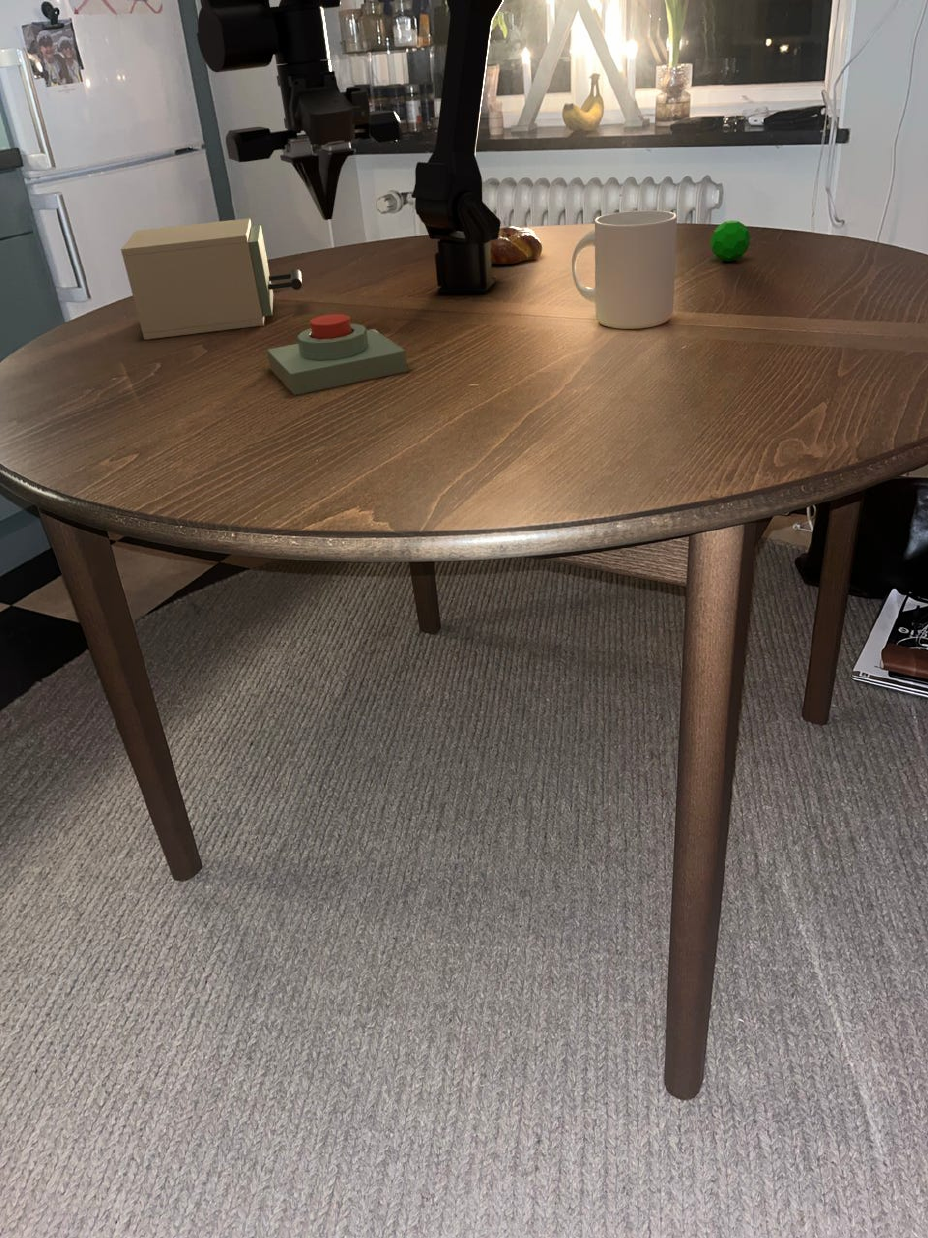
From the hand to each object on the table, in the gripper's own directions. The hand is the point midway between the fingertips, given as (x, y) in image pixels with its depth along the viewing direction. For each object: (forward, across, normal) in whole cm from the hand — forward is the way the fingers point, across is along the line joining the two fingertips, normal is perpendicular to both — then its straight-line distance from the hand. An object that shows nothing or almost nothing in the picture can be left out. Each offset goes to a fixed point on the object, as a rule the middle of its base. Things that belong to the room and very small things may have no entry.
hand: (327, 219), depth 108 cm
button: (+8, -7, -18) cm, 21 cm away
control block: (+12, -7, -18) cm, 23 cm away
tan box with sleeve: (+12, -14, +14) cm, 23 cm away
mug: (+12, +26, -21) cm, 36 cm away
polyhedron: (+12, +53, -6) cm, 54 cm away
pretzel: (+12, +31, +18) cm, 38 cm away
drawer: (+11, -10, +13) cm, 20 cm away
